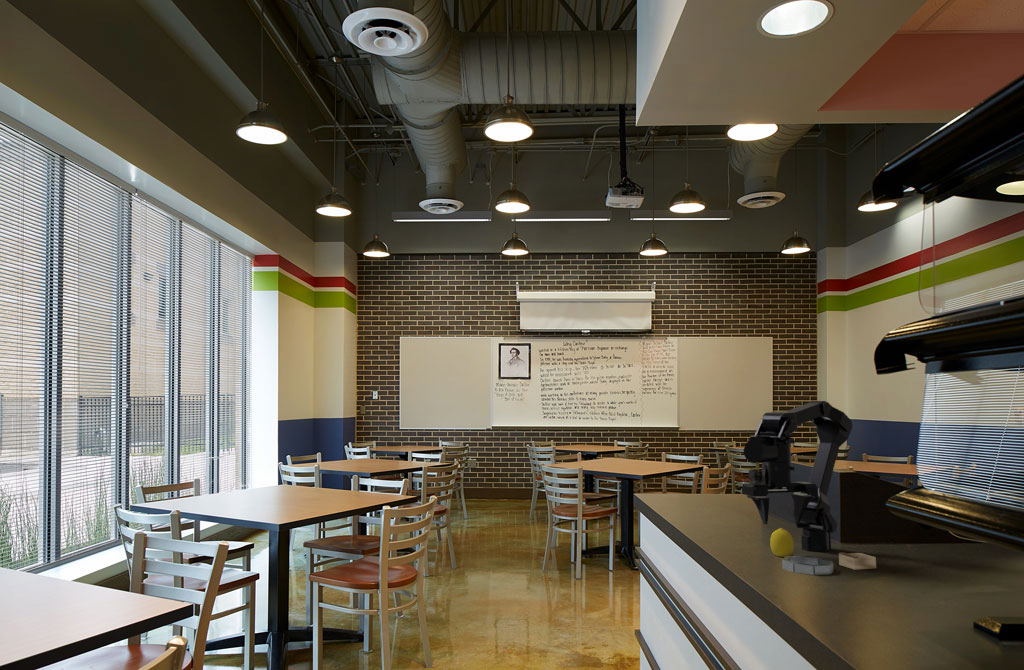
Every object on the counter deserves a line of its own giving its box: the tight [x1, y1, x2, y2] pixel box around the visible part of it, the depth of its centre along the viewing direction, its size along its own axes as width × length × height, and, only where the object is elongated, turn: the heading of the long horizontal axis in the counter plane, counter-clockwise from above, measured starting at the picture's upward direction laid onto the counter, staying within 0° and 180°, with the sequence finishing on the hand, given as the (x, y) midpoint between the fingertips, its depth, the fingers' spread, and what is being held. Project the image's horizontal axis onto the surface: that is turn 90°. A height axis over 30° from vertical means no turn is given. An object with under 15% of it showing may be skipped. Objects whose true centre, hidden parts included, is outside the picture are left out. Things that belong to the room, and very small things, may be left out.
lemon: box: [769, 527, 794, 558], centre depth 171 cm, size 6×6×8 cm
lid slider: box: [838, 551, 877, 571], centre depth 160 cm, size 6×5×3 cm
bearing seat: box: [781, 555, 834, 576], centre depth 157 cm, size 10×10×2 cm
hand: (781, 523), depth 172 cm, fingers open, 9 cm apart
